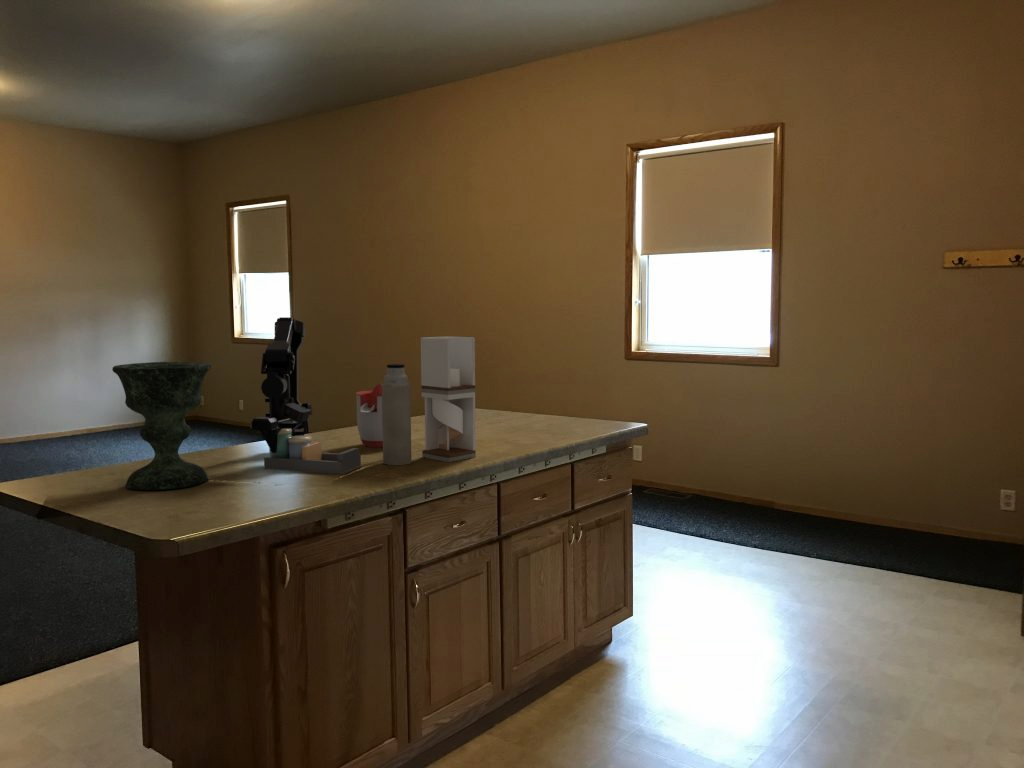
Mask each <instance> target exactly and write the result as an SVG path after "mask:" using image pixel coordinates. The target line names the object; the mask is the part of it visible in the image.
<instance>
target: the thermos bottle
mask: <svg viewBox="0 0 1024 768" xmlns="http://www.w3.org/2000/svg"><path fill="white" fill-rule="evenodd" d="M386 368H387V369H386V375H384V376H383V383H382V428H383V448H382V463H383V464H384V465H386V464H387V465H388V466H404V465H408V464H411V463H412V417H411V416H412V412H411V411H412V409H411V408H412V407H411V406H412V404H411V402H412V400H411V399H412V398H411V383H409V382H408V381H409V377H408V375H407V374H406V372H405V364H403V363H391V364H389V363H388V364H386Z"/></svg>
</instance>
